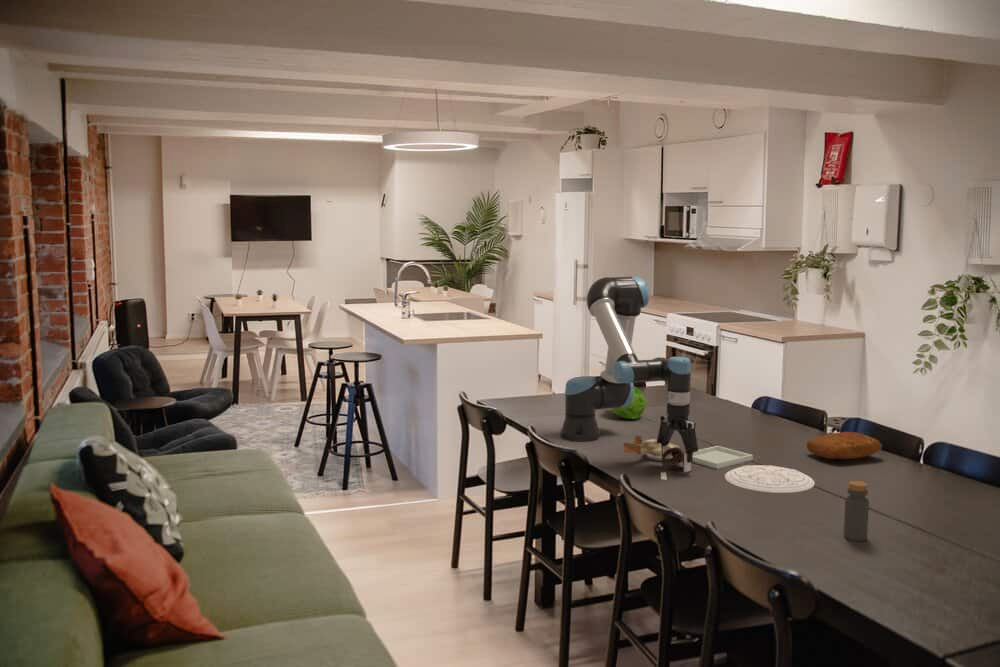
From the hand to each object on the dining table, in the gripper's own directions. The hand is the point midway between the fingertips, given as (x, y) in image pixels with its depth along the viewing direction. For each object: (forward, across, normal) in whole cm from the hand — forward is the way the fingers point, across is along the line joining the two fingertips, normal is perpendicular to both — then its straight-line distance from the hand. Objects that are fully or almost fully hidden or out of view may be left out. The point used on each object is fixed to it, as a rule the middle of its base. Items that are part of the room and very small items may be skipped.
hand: (676, 467), depth 303 cm
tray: (+1, 0, +20) cm, 20 cm away
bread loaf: (+1, +25, +58) cm, 64 cm away
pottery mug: (0, 0, +1) cm, 1 cm away
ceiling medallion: (+1, +26, +15) cm, 30 cm away
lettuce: (+2, -70, +42) cm, 82 cm away
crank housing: (+1, -14, +7) cm, 16 cm away
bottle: (0, +73, -10) cm, 74 cm away
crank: (-2, -14, +3) cm, 14 cm away
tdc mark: (+1, +3, -10) cm, 10 cm away
